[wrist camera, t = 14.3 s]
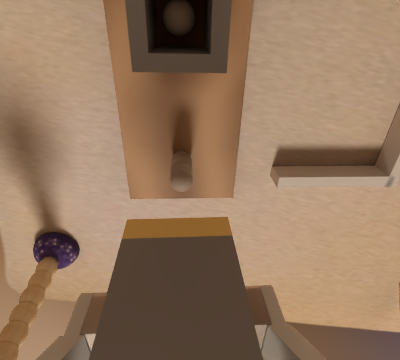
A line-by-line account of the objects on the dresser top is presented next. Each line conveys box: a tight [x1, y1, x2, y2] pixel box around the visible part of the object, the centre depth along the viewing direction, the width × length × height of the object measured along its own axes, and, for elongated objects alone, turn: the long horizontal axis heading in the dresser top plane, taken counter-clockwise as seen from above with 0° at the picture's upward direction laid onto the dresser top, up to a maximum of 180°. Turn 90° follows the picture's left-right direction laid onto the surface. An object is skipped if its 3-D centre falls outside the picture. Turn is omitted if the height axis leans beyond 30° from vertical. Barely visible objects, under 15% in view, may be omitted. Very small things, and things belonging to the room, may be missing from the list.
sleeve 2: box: [89, 217, 263, 360], centre depth 10 cm, size 4×4×6 cm
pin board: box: [103, 0, 254, 199], centre depth 17 cm, size 9×20×6 cm, turn 179°
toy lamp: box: [0, 233, 79, 360], centre depth 20 cm, size 5×5×17 cm
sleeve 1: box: [125, 0, 232, 73], centre depth 14 cm, size 4×4×6 cm
